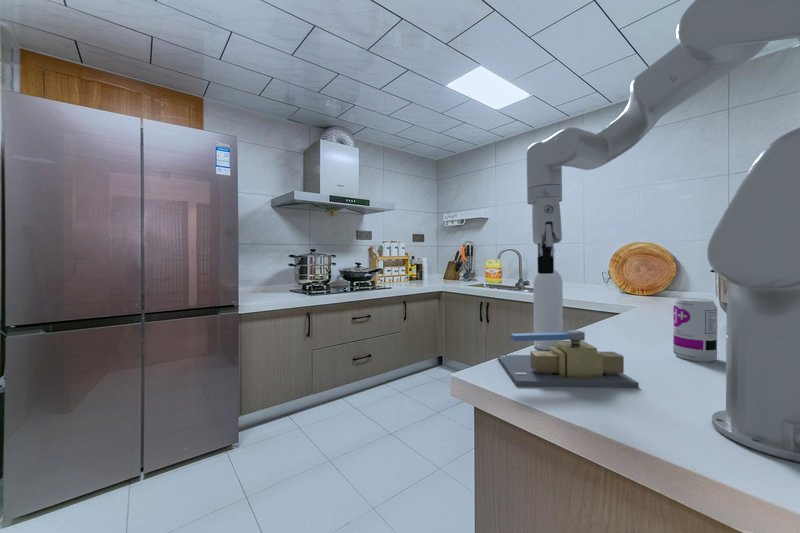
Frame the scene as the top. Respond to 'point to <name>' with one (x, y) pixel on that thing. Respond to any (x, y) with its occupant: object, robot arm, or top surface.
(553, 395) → the top surface
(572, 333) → the lever
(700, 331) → the supplement can
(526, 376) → the base plate
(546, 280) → the bottle
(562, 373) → the valve
